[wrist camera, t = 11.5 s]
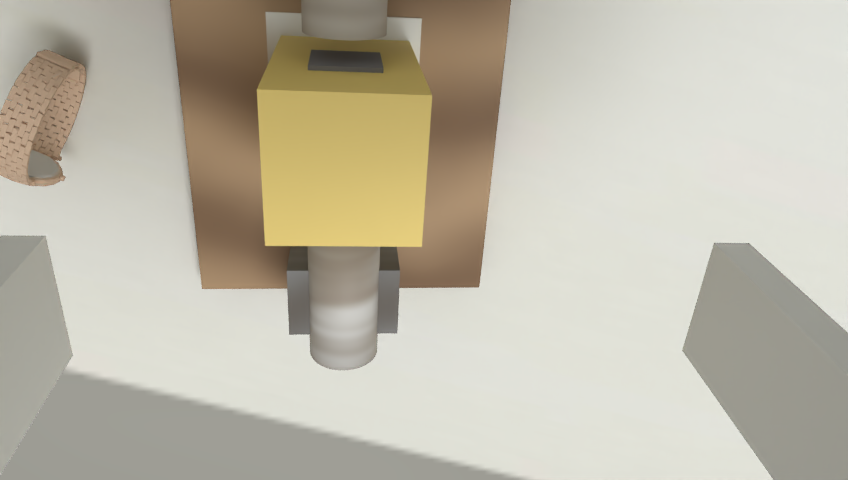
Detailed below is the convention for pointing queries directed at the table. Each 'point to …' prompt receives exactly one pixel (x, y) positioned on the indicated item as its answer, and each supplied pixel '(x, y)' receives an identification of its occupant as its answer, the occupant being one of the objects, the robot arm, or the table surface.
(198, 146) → the shaft base
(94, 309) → the table surface
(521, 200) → the table surface
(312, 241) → the yellow rectangular block
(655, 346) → the table surface
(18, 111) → the rose gold watch bracelet
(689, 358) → the robot arm
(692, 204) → the table surface
